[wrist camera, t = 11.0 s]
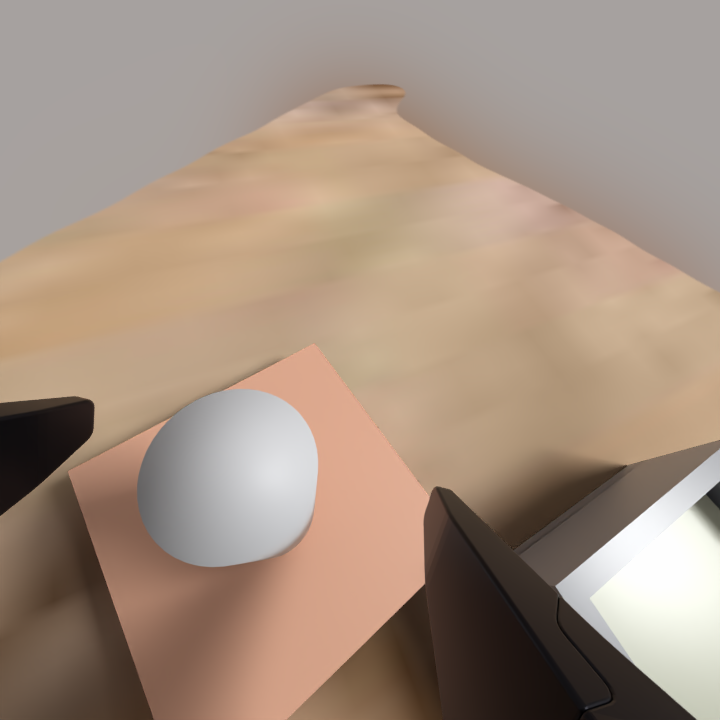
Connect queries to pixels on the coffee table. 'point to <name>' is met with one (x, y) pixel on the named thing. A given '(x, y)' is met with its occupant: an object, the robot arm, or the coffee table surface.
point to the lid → (254, 541)
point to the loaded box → (647, 569)
